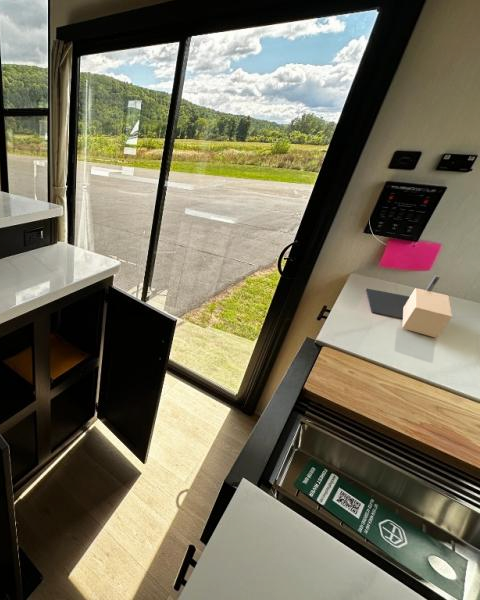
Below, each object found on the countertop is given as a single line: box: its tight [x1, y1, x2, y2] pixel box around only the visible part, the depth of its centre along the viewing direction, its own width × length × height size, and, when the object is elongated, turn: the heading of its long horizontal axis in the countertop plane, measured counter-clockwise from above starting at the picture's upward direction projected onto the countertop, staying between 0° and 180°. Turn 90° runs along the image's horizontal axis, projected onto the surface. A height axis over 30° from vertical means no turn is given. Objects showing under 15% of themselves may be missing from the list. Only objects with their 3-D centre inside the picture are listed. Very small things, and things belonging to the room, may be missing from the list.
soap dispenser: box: [401, 274, 453, 339], centre depth 109 cm, size 13×9×22 cm
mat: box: [365, 288, 410, 321], centre depth 120 cm, size 14×20×1 cm
